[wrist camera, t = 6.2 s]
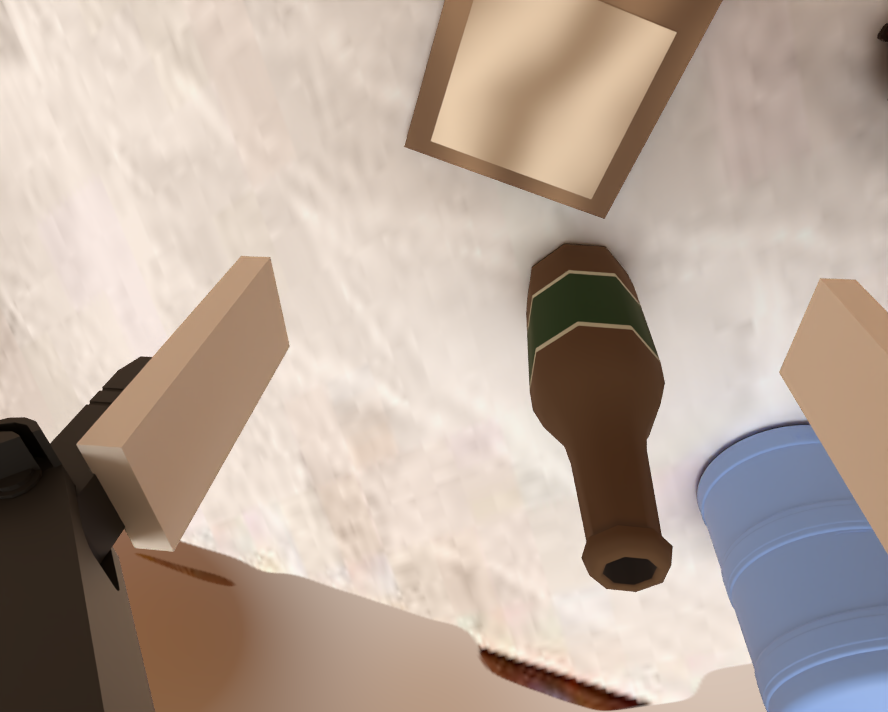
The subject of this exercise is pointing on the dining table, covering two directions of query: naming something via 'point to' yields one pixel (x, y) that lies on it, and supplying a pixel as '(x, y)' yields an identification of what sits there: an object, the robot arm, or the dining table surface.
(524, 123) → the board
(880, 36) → the mate gourd
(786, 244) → the dining table surface
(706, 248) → the dining table surface
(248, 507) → the dining table surface
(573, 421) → the beer bottle
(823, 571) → the water jug
